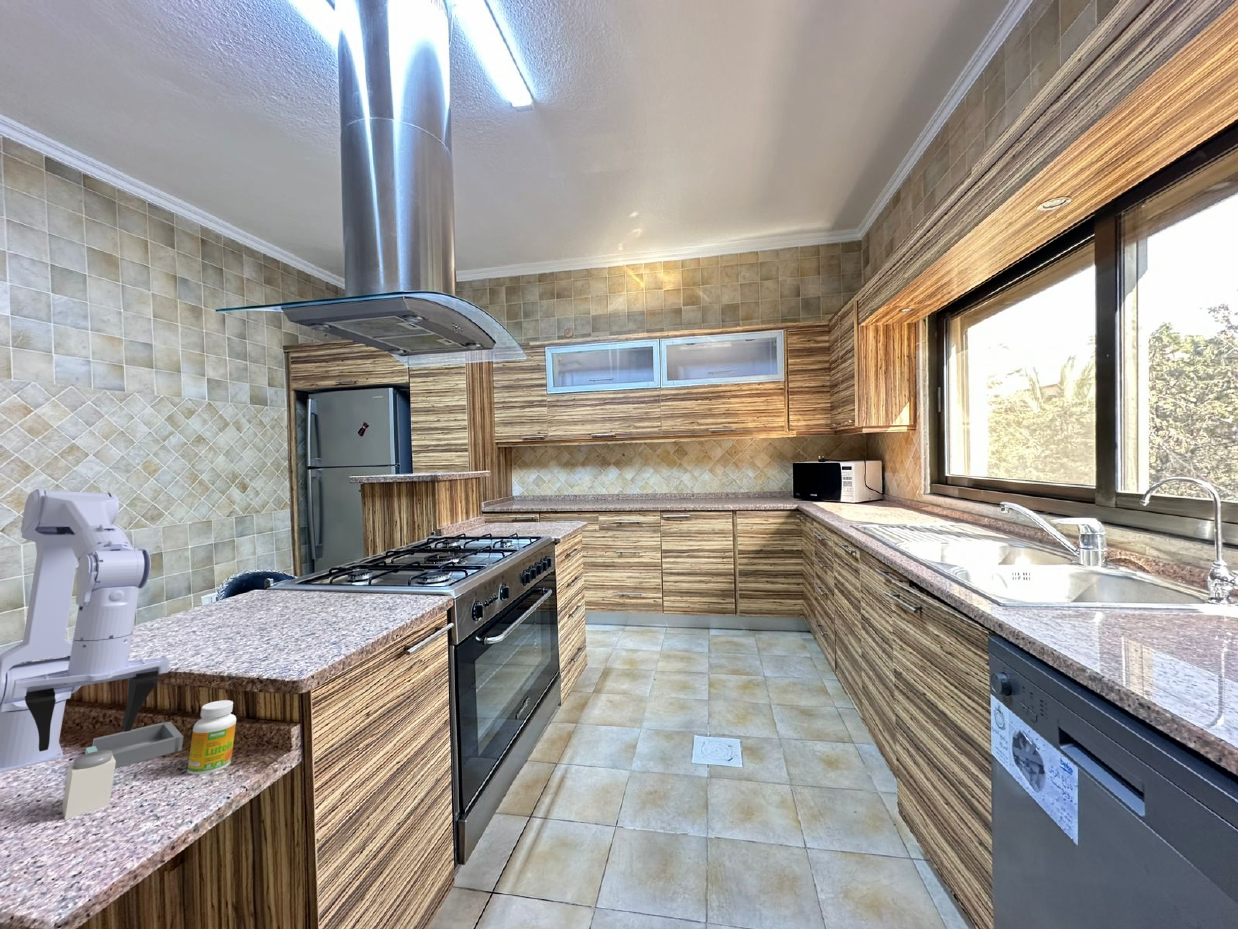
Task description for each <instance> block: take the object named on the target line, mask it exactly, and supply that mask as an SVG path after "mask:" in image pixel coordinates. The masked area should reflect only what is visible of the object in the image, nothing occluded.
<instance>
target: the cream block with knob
mask: <svg viewBox="0 0 1238 929" xmlns="http://www.w3.org/2000/svg"><path fill="white" fill-rule="evenodd" d="M112 753H113V752H112V751H110V750H102V751H96V752H91V753H88V754H82V755H79V756H78V757H76V758H75V759H74V760H73V762H70V763H68V769H67V775H66V780H65V787H64V793H63V799H62V805H61V810H62V814H63V817H64V820H68V819H71V818H74V817H77V816H80V815H85V814H86V813H89V812H93V811H96V810H99V809H100V810H101V809H103V808H106V807H108V806H109V807H110V803H111V802H110V801H111V796H112V790H113V784H114V777H115V771H116V769H115V765H116V761H115V759H114V757H113V755H112Z"/></svg>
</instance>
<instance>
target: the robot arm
mask: <svg viewBox="0 0 1238 929" xmlns="http://www.w3.org/2000/svg"><path fill="white" fill-rule="evenodd" d="M23 508H24V510H23V513H22V514H23V515H22V520H21V527H20V533H21V538H22V539H24V540H27V541H31V542H34V543H35V548H36V558H35V564H34V571H33V576H32V583H31V590H30V596H29V603H28V608H27V613H26V620H25V626H24V632H23V633H24V634H23V638H22V639H23V640H22V642H20V643H19V644H17V645H15V646H14V647H12V648H10V649H8V650H7V651H5V652H2V654H0V774H3V773H6V772H11V771H14V770H19V769H23V768H26V767H31V766H35V765H39V764H44V763H48V762H51V761H55V760H59V759H63V757H64V754H63V750H62V747H61V745H60V736H61V731H62V724H63V720H64V713H65V709H66V708H65V707H66V702H67V700H68V699H69V700H70V699H71V696H72V694H75V693H77V691H78V690H80V689H81V687H82V686H89V685H94V684H95V685H96V684H100V683H106V682H112V681H120V680H123V679H124V680H125V679H128V681H129V682H128V692H127V702H126V707H125V710H124V713H123V714H124V715H123V718H122V728H121V729H122V731H123V732H127V731H131V730H133V726H134V723H135V721H136V718H137V716H138V714H139V712H140V710H141V708H142V707H143V705H144V703H145V701H146V699H147V698H148V697H149V695H150V694H151V692H152V691H153V690H154V689H155V687H156V686H157V684H158V682H159V681H160V676H158V675H160V674H167V673H169V667H170V666H169V665H170V662H171V661H170V659H169V657H167V656H165V657H157V658H148V659H139V660H138V659H137V660H135V659H134V660H129V658H130V652H131V646H132V637H133V631H134V627H135V626H134V625H135V619H136V613H137V608H138V600H139V595H140V594H139V593H140V589H142V588H144V587H145V586H146V585H147V583H148V581H149V578H150V574H151V567H152V560H151V559H152V558H151V555H150V552H149V550H148V549H147V548H138V547H137V548H135V547H133V546H132V543H131V542H130V539H129V538H128V536H127V535H126V533H125V531H124V530H123V529H122V528H121V527H119V526H117V525H116V524H114V523H116V520H117V518H118V515H119V510H120V500H119V497H118V496H117V495H116V494H115V493H114V492H107V493H106V492H90V491H89V492H88V491H86V492H85V491H69V490H68V491H67V490H50V489H49V490H48V489H43V488H36V489H34V490H33V491H30V493H29V494H28V496H27V498H26V501H25V504H24V507H23ZM77 564H78V566H77ZM76 569H77V570H76ZM75 577H76V578H75ZM75 579H76V596H75V605H77V606H78V608H77V614H76V615H77V616H76V621H75V627H74V633H73V639H72V640H70V639H67V638H66V637H67V631H68V630H67V629H68V624H69V616H70V609H71V604H72V596H73V589H74V584H75V583H74V582H75ZM45 659H46V660H45ZM25 662H26V663H25Z"/></svg>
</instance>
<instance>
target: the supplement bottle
mask: <svg viewBox="0 0 1238 929" xmlns="http://www.w3.org/2000/svg"><path fill="white" fill-rule="evenodd" d="M233 707H234V702H233V700H228V699H224V700H216V701H211V702H208V703H206V704H203V706H202V707H201V711H200V719H198V720H197V721H196V722H195V723H194V725H193V728H192V735H191V743H190V751H189V756H188V764H187V773H188V774H189V775H194V776H195V775H197V776H198V775H207V774H210V773H214V772H217V771H220V770H222V769H224V768H226V767H228V766H229V765H230V764H231V762H232V756H233V749H234V742H235V735H236V734H235V733H236V725H237V716H236V715H234V714H232V712H233V709H234V708H233Z"/></svg>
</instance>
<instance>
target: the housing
mask: <svg viewBox="0 0 1238 929" xmlns="http://www.w3.org/2000/svg"><path fill="white" fill-rule="evenodd" d="M183 743H184V735H183V734H182V733H181V732H180V731H179V729H177V728H176V726H175V725H174V724H173V723H172V722H171V721H170V722H167V721H163V722H159V723H155V724H149V725H147V726H143V727H137V728H135V729H133V728H132V730H131V731H127V732H124V731H121V732H117V733H111V734H108V735H104V736H99V737H94V738H93V740H92V746H96V748H97V750H98V751H102V750H110V751H112V752H113V753H112V755H113V757H114V759H115V761H116V765H115V770H116V769H119V768H122V767H126V766H130V765H134V764H138V763H140V762H144V761H145V762H146V761H149V760H152V759H156V758H159V757H162V756H166V755H170V754H174V753H177V752H182V750H183ZM92 746H91V747H92Z"/></svg>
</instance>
